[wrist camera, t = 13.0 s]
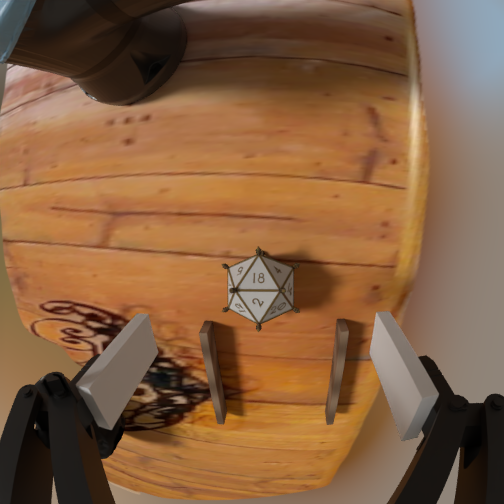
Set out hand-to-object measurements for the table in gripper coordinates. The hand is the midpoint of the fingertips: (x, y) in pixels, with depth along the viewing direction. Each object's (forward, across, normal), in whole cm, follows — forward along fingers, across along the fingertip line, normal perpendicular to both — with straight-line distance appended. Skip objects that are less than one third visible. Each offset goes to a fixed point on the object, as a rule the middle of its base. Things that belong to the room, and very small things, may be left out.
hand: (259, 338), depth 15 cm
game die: (+19, +1, +4) cm, 19 cm away
